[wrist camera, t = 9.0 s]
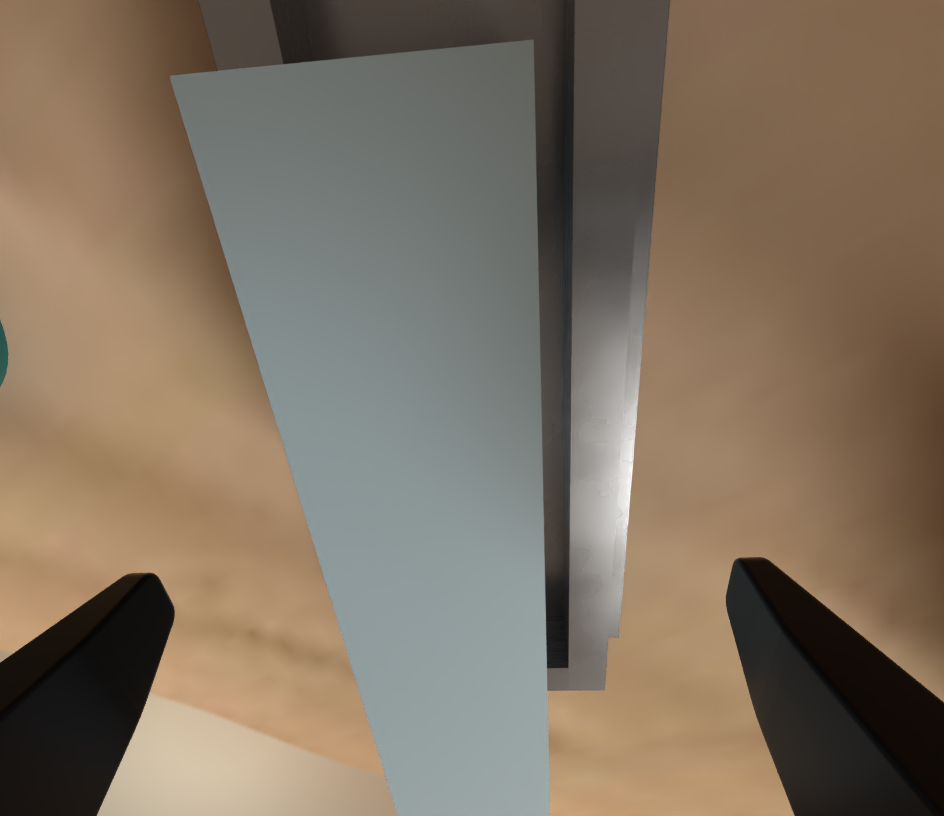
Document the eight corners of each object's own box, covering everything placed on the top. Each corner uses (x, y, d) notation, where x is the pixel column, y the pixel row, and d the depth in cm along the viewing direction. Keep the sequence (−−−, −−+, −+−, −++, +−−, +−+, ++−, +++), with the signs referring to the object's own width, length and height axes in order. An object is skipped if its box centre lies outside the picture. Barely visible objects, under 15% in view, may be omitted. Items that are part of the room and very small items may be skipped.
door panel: (534, 558, 18) (553, 849, 12) (440, 561, 19) (404, 846, 12) (517, 56, 11) (539, 39, 4) (364, 71, 11) (163, 75, 5)
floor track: (614, 614, 21) (629, 690, 19) (378, 618, 22) (362, 691, 19) (673, -225, 10) (734, -328, 7) (183, -159, 11) (80, -232, 8)
